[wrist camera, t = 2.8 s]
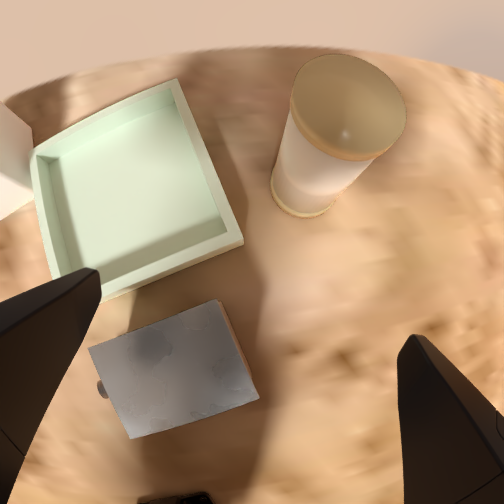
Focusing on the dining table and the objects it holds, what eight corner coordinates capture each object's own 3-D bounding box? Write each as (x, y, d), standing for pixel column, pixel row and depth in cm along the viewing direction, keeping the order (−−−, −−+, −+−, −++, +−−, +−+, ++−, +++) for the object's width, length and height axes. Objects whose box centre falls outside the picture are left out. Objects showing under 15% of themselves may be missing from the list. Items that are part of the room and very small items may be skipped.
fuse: (346, 204, 22) (425, 135, 11) (286, 228, 21) (328, 166, 11) (318, 147, 22) (369, 47, 11) (259, 167, 22) (273, 66, 11)
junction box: (255, 372, 20) (259, 398, 15) (133, 414, 20) (104, 445, 14) (222, 296, 21) (215, 298, 15) (101, 344, 20) (63, 357, 15)
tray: (243, 244, 21) (243, 238, 19) (80, 312, 20) (63, 313, 18) (182, 96, 22) (176, 77, 20) (44, 163, 22) (28, 151, 19)
